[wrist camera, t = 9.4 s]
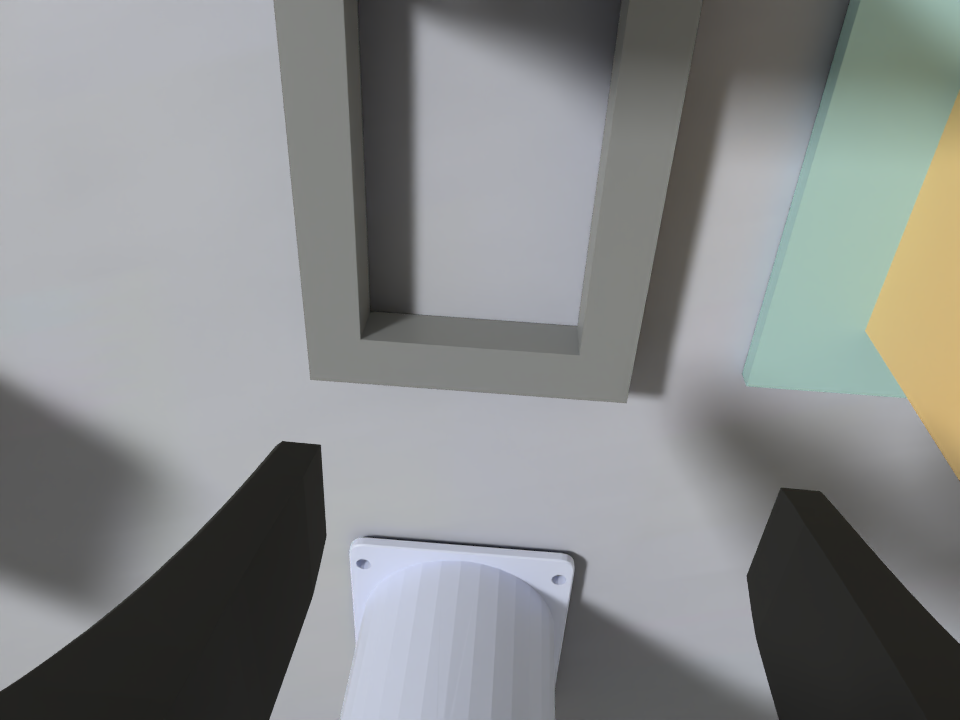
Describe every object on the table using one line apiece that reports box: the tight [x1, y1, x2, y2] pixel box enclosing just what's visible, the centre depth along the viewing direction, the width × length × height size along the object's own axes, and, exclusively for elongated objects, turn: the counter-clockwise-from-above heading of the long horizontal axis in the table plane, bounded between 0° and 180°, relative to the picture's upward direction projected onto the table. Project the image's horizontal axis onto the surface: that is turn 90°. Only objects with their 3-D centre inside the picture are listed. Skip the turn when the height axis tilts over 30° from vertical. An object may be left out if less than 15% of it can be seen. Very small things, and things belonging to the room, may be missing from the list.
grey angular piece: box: [274, 0, 703, 403], centre depth 16 cm, size 13×9×9 cm
